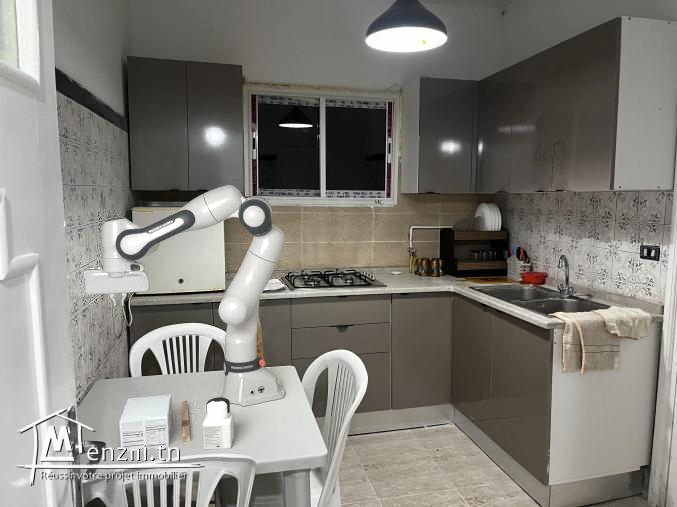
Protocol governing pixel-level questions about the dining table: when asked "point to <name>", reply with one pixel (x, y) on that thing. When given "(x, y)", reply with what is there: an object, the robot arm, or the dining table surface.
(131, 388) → the dining table surface
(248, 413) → the dining table surface
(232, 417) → the container
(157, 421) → the supplement box
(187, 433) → the guide rail
